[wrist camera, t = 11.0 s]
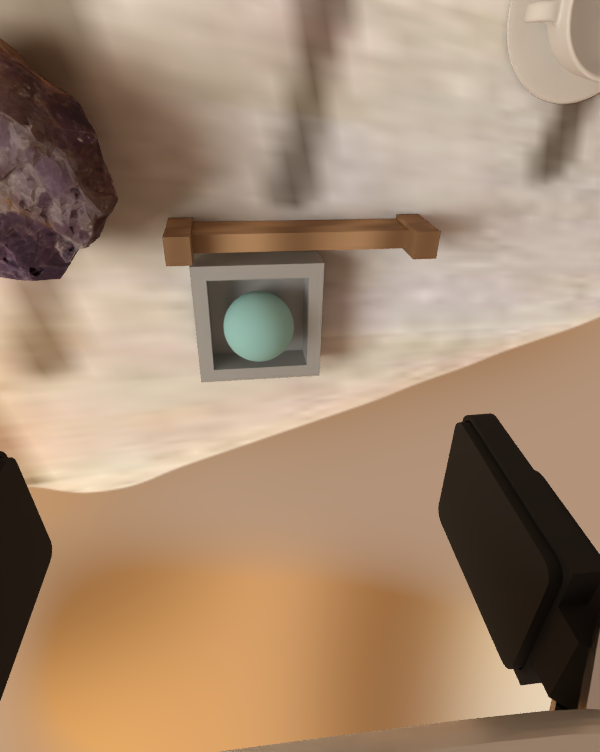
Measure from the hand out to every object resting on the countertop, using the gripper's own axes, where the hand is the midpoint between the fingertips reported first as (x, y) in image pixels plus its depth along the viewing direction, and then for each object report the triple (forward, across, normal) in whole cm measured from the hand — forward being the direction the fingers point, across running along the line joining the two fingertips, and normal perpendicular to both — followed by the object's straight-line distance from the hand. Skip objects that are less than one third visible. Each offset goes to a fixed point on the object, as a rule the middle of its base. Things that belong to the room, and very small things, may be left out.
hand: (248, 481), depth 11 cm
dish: (+27, -1, +9) cm, 28 cm away
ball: (+26, -1, +9) cm, 28 cm away
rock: (+27, +12, -2) cm, 30 cm away
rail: (+27, -4, +3) cm, 28 cm away
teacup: (+28, -22, -10) cm, 37 cm away
